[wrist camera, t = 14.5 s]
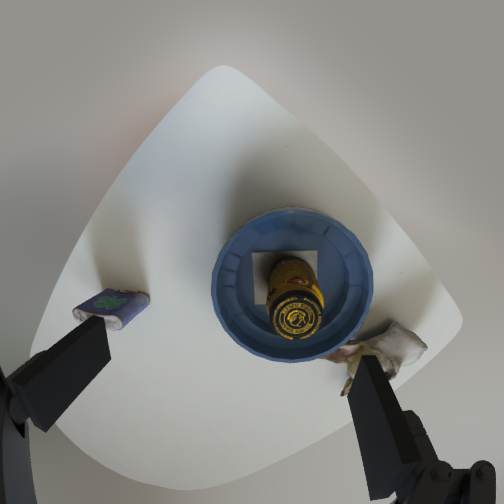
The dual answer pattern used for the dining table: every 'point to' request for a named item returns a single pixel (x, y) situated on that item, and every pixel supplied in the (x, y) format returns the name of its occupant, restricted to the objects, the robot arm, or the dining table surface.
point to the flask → (113, 307)
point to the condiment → (289, 292)
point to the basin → (328, 277)
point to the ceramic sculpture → (380, 352)
